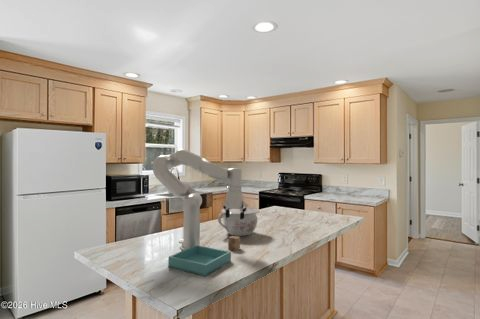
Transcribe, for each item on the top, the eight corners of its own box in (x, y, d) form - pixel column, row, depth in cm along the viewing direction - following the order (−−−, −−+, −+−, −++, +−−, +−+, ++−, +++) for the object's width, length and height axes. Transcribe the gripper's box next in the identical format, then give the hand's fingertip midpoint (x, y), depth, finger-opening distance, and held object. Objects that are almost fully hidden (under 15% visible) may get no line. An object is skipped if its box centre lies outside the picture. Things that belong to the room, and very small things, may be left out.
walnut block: (228, 249, 168) (228, 237, 168) (232, 247, 172) (232, 235, 172) (235, 250, 165) (235, 238, 165) (239, 248, 169) (240, 236, 169)
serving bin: (168, 267, 139) (168, 256, 139) (196, 254, 158) (196, 245, 158) (205, 276, 128) (205, 265, 128) (230, 261, 148) (230, 251, 148)
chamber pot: (260, 230, 216) (260, 202, 216) (258, 240, 188) (259, 208, 188) (223, 228, 218) (223, 201, 218) (216, 238, 191) (217, 207, 191)
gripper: (219, 188, 169) (218, 217, 169) (244, 190, 161) (244, 220, 161) (225, 187, 176) (225, 215, 176) (251, 189, 168) (250, 218, 168)
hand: (234, 218), depth 169 cm, fingers open, 9 cm apart
